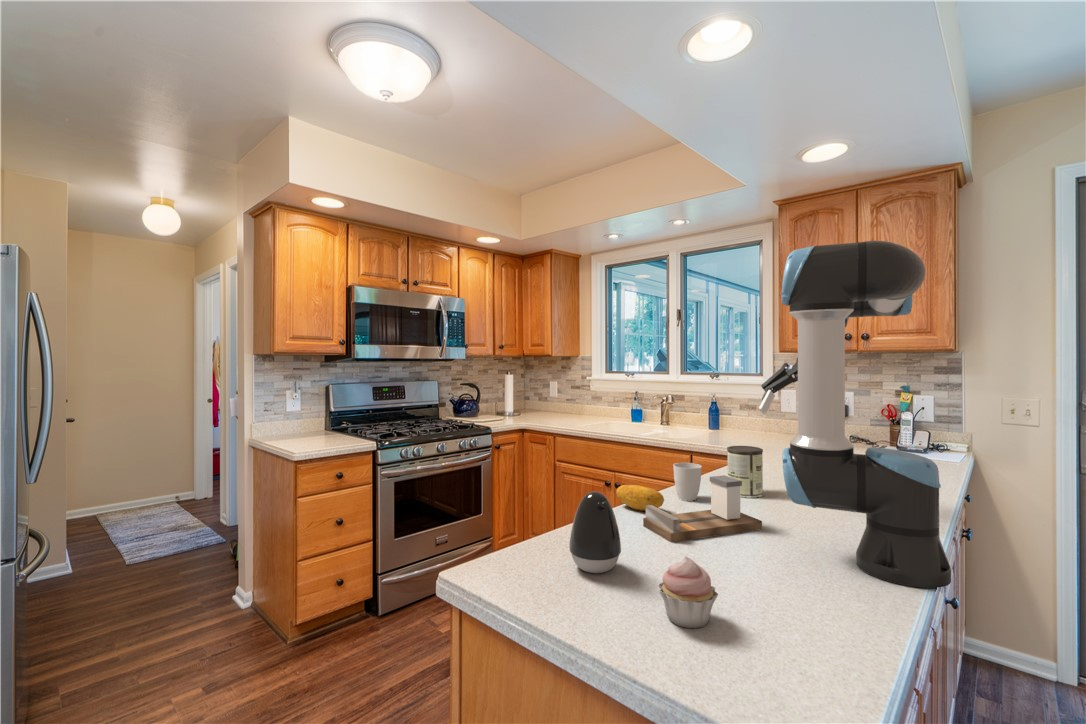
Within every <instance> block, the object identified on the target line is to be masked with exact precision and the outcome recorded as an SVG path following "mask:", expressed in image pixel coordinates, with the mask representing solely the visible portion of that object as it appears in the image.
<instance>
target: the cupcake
mask: <svg viewBox="0 0 1086 724" xmlns="http://www.w3.org/2000/svg"><path fill="white" fill-rule="evenodd" d="M657 586H658V588H659V589H658V592H659V594H660V596H661V598H662V600H663V604H664V608H665V609H664V610H665V612H666V613H665V614H666V616H667V618H668V619H669V621H670V622H671V623H672V624H674V625H676V626H679V627H682V628H687V629H699V628H703V627H704V626H706V625H707V623H709V619H710V616H711V612H712V608H713V606H714V603H715V601H716V599H717V598H718V596H719V593H718V592H716V589H717V588H716V587H715V586H713V585H712V580H711V578H710V575H709V573H708V572H707V571H706V570H705V569H704V568H703V567H702V566H701V565H699V564H697V563H696V561H694V560H693V559H691V557H688V556H687V555H684V557H683V560H682V561H680V562H679V561H678V562H677V563H673V564H671V565H670V566H669V567H668V569H667V570H666V571H665V572H664V573H663V575H662V582H659V583H657Z"/></svg>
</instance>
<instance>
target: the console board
mask: <svg viewBox="0 0 1086 724" xmlns="http://www.w3.org/2000/svg"><path fill="white" fill-rule="evenodd" d="M642 520H643V521H642V522H643V527H644V528H646V529H648V530H649V531H651V532H653V533H654V534H656V535H658V536H660V537H661V538H662V539H664V540H666V541H668V542H669V543H675V542H683V541H688V540H690V541H691V540H696V539H702V538H703V539H704V538H711V537H717V536H723V535H731V534H738V533H746V532H752V530H753V531H758V529H760V530H763V521H762V520H761V519H759V518H755V517H753V516H750V515H749V514H746V513H744V512H741V511H740V518H736V519H729V520H727V519H724V518H722V517H720V516H717V515H715V514H713V513H711V509H706V510H697V511H690V512H680V513H673V514H670V513H668V512H666V511H664V510H662V509H660V508H656V507H654V506H652V505H647V506H646V511H645V517H643V518H642Z"/></svg>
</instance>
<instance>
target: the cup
mask: <svg viewBox="0 0 1086 724" xmlns="http://www.w3.org/2000/svg"><path fill="white" fill-rule="evenodd" d="M672 466H673V467H672V468H673V479H674V485H675V492H676V495H677V497H678V500H680V499H681V500H680V501H683V500H688V501H687V502H693V501H692V500H695V501H696V500H697V498H698V495H699V492H700V487H701V482H702V481H701V480H702V469H703V467H702V465H701V464H698V463H694V462H676V463H673V464H672Z"/></svg>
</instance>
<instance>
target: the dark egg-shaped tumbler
mask: <svg viewBox="0 0 1086 724" xmlns="http://www.w3.org/2000/svg"><path fill="white" fill-rule="evenodd" d="M620 537H621V536H620V531H619V527H618V522H617V518H616V515H615V511H614V509H613V507H612V505H611V503H610V500H609V499H608V497H606V495H605V494H604V493H602V492H599V491H590V492H588V493H586V494H585V495H584V496H583V497H582V498H581V500H580V501H579V504H578V506H577V509H576V512H575V514H574V518H573V522H572V527H571V531H570V537H569V552H570V554H571V558H572V560H573V562H574V564H575V565H576V566H577V567H578V568H579V569H580V570H582V571H584V572H587V573H590V574H602V573H606V572H608V571H610V570H612V569H613V567H615V566H616V564H617V562H618V561H619V557H620V555H621V552H622V545H621V544H622V543H621V538H620Z"/></svg>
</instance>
